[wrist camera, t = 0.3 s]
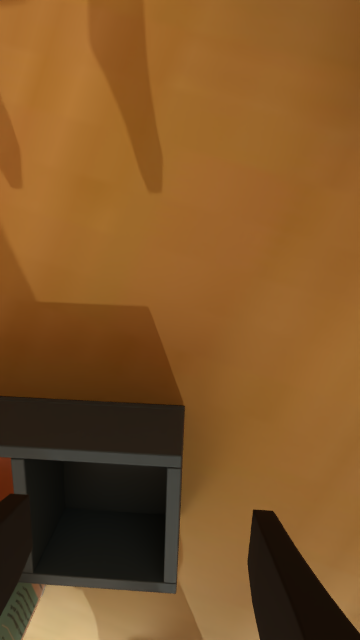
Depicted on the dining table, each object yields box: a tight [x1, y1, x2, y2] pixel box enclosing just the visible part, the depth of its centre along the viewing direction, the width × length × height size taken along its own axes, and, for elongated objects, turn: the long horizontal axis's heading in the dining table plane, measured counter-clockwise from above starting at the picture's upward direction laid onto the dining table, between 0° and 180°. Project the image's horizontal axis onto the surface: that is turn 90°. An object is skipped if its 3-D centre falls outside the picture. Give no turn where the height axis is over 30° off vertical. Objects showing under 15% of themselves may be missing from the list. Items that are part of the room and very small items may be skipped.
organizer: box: [0, 396, 185, 594], centre depth 19 cm, size 8×16×5 cm, turn 88°
